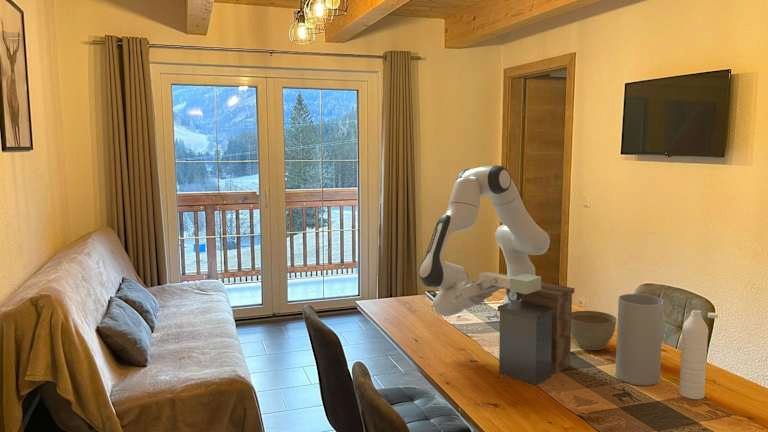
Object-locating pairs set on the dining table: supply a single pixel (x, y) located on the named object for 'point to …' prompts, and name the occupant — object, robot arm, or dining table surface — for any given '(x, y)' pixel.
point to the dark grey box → (525, 341)
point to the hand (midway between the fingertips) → (500, 278)
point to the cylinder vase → (639, 339)
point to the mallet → (514, 281)
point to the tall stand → (556, 320)
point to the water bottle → (694, 356)
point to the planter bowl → (592, 329)
